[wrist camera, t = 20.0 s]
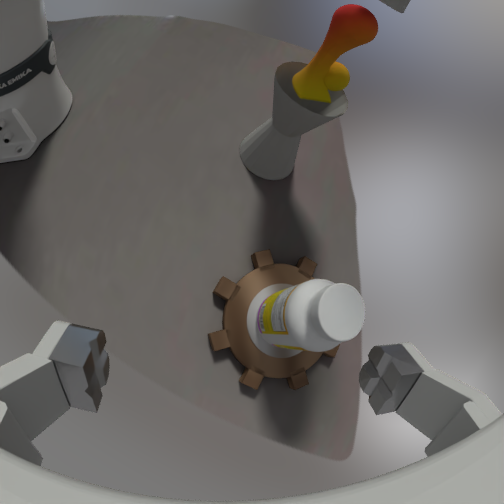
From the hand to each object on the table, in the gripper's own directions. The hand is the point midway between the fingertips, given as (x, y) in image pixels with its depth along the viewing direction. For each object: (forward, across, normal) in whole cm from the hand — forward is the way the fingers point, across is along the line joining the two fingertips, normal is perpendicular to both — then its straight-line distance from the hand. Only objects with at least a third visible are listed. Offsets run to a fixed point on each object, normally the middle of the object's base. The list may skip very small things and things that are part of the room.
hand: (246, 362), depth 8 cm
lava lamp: (+37, -6, -5) cm, 38 cm away
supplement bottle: (+21, -9, +13) cm, 26 cm away
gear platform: (+22, -9, +14) cm, 28 cm away
